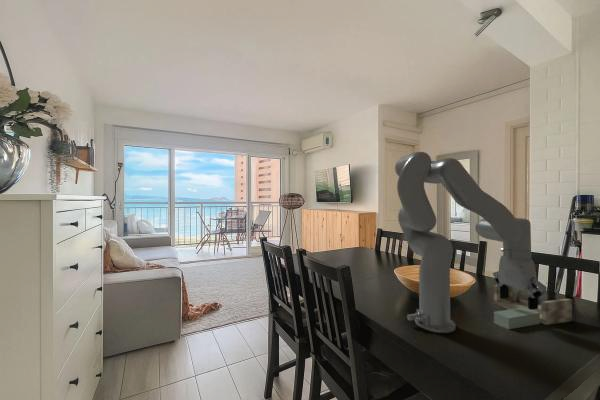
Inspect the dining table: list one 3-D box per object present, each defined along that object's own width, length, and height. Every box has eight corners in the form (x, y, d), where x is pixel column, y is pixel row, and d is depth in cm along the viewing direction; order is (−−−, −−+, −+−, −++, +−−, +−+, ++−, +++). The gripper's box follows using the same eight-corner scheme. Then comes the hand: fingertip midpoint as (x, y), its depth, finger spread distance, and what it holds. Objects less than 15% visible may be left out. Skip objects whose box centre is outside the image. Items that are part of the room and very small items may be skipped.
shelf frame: (545, 324, 90) (545, 302, 90) (494, 303, 108) (494, 285, 108) (572, 320, 92) (572, 299, 92) (517, 300, 111) (517, 282, 111)
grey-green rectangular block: (508, 330, 87) (508, 318, 87) (494, 323, 92) (494, 311, 92) (539, 324, 91) (539, 312, 91) (524, 318, 95) (524, 307, 95)
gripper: (485, 250, 99) (486, 295, 99) (535, 260, 82) (536, 315, 82) (501, 248, 100) (502, 293, 100) (554, 258, 83) (555, 312, 84)
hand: (518, 303), depth 91 cm, fingers open, 9 cm apart
